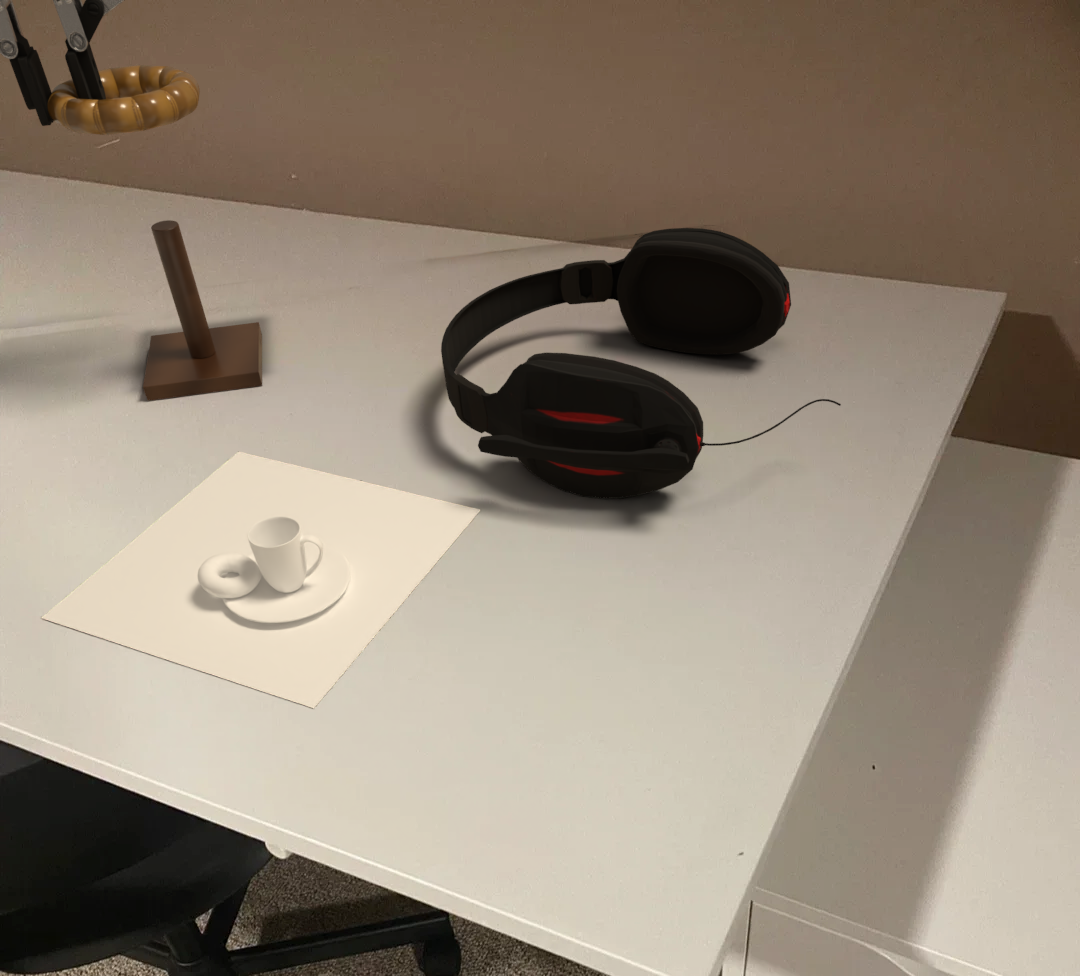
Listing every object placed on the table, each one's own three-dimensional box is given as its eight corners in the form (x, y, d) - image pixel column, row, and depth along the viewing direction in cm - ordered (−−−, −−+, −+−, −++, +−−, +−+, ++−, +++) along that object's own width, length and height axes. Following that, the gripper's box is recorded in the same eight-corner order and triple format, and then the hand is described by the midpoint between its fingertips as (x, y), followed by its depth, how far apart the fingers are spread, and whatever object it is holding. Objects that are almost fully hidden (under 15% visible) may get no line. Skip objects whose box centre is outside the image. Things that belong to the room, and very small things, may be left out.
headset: (847, 516, 65) (875, 391, 59) (442, 537, 65) (426, 415, 59) (765, 319, 85) (779, 210, 78) (453, 337, 85) (441, 228, 78)
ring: (46, 145, 67) (33, 111, 65) (65, 102, 73) (55, 70, 72) (199, 129, 68) (190, 95, 66) (205, 88, 74) (197, 56, 73)
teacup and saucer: (186, 606, 62) (165, 552, 59) (262, 533, 67) (247, 480, 64) (305, 642, 59) (290, 588, 56) (376, 564, 64) (365, 510, 61)
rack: (147, 401, 80) (95, 256, 71) (155, 349, 86) (108, 210, 78) (262, 385, 80) (224, 241, 72) (262, 335, 87) (227, 196, 78)
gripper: (100, -264, 60) (192, 89, 73) (-184, -243, 58) (-37, 114, 72) (85, -258, 55) (187, 120, 68) (-226, -235, 53) (-60, 148, 67)
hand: (71, 114), depth 70 cm, fingers closed on ring, 2 cm apart
